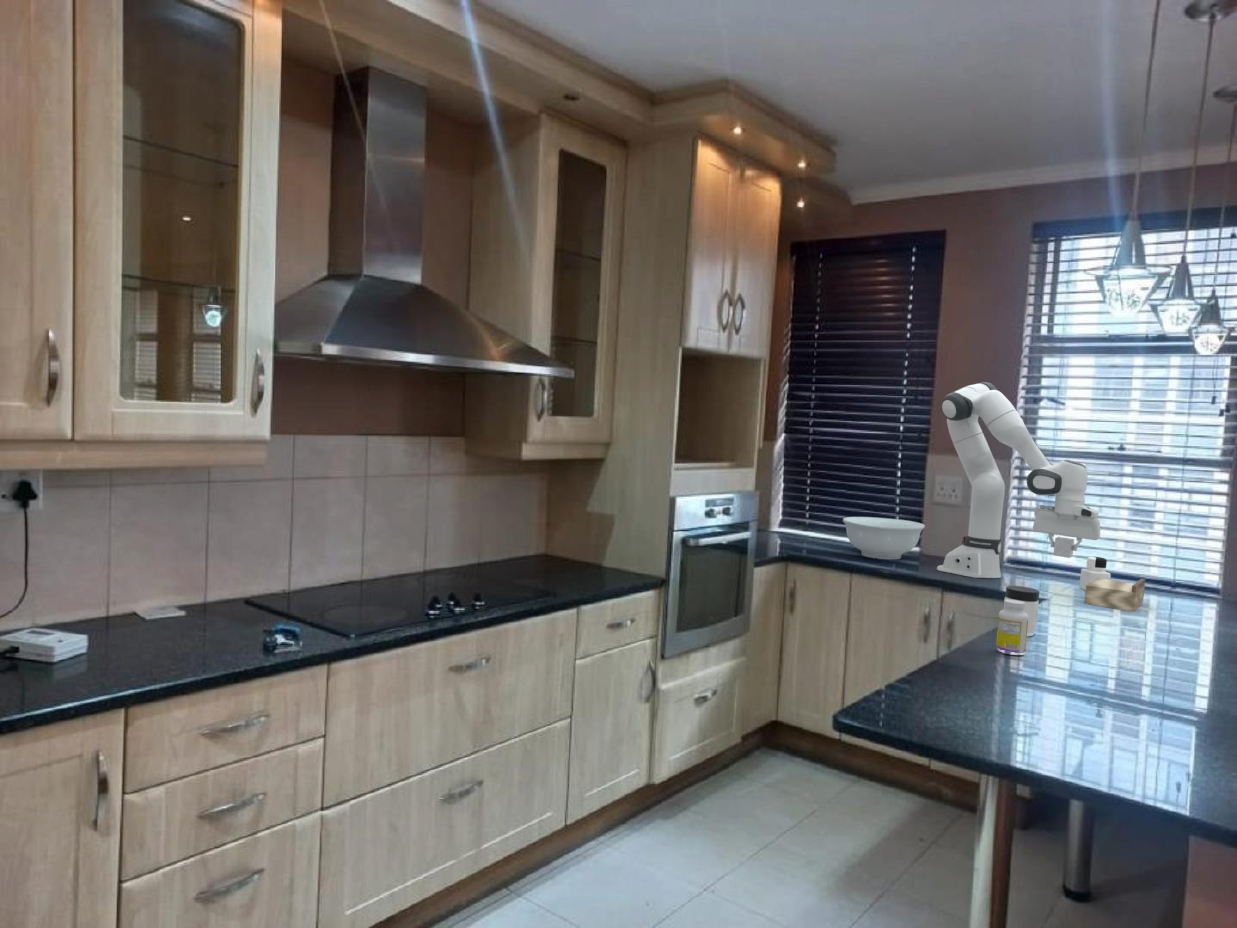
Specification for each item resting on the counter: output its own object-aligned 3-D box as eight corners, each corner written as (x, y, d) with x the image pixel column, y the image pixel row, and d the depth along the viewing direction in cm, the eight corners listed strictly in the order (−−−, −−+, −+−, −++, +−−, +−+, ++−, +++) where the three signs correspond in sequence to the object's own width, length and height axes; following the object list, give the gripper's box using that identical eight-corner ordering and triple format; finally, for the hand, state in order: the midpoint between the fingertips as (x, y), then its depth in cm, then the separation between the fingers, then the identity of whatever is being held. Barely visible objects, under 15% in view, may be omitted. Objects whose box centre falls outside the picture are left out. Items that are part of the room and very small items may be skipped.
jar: (1043, 635, 229) (1047, 591, 229) (1022, 637, 226) (1026, 593, 225) (1015, 627, 237) (1019, 584, 237) (994, 629, 234) (998, 585, 233)
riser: (1084, 603, 278) (1086, 579, 277) (1095, 595, 293) (1097, 572, 293) (1134, 611, 269) (1136, 586, 269) (1142, 602, 285) (1145, 579, 284)
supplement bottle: (1010, 648, 214) (1014, 598, 213) (1031, 656, 208) (1036, 604, 207) (989, 649, 211) (993, 598, 211) (1010, 657, 205) (1014, 604, 204)
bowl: (824, 552, 351) (827, 517, 351) (866, 547, 374) (869, 514, 373) (896, 566, 328) (899, 528, 327) (936, 560, 350) (939, 524, 349)
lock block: (1053, 555, 290) (1055, 537, 290) (1056, 553, 294) (1058, 536, 294) (1069, 557, 287) (1071, 540, 287) (1072, 556, 291) (1074, 539, 291)
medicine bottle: (1099, 589, 305) (1103, 556, 304) (1109, 593, 298) (1112, 559, 297) (1078, 588, 306) (1082, 554, 305) (1087, 592, 299) (1091, 558, 298)
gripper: (1033, 504, 293) (1028, 544, 294) (1100, 513, 281) (1095, 555, 282) (1037, 503, 298) (1032, 542, 299) (1103, 512, 286) (1098, 553, 287)
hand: (1063, 548), depth 291 cm, fingers closed on lock block, 5 cm apart
